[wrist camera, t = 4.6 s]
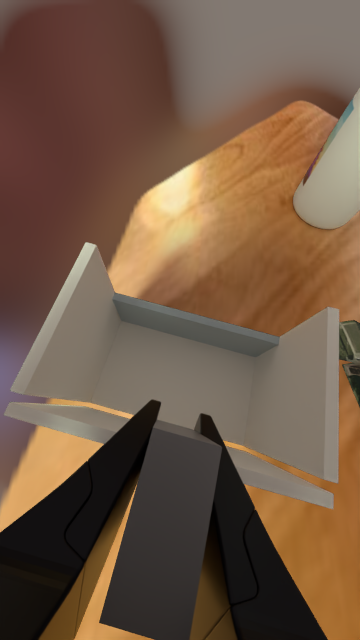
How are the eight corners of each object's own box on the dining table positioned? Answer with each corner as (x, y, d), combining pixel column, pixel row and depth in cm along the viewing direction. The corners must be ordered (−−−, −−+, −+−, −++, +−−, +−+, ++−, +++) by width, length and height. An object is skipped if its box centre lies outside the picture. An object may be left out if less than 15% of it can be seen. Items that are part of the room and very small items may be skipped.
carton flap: (242, 483, 18) (549, 760, 4) (73, 435, 18) (-232, 521, 4) (247, 440, 19) (502, 526, 5) (89, 395, 19) (-109, 353, 5)
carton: (244, 445, 20) (338, 483, 10) (88, 401, 21) (9, 390, 10) (256, 356, 23) (339, 309, 12) (120, 319, 23) (85, 242, 13)
